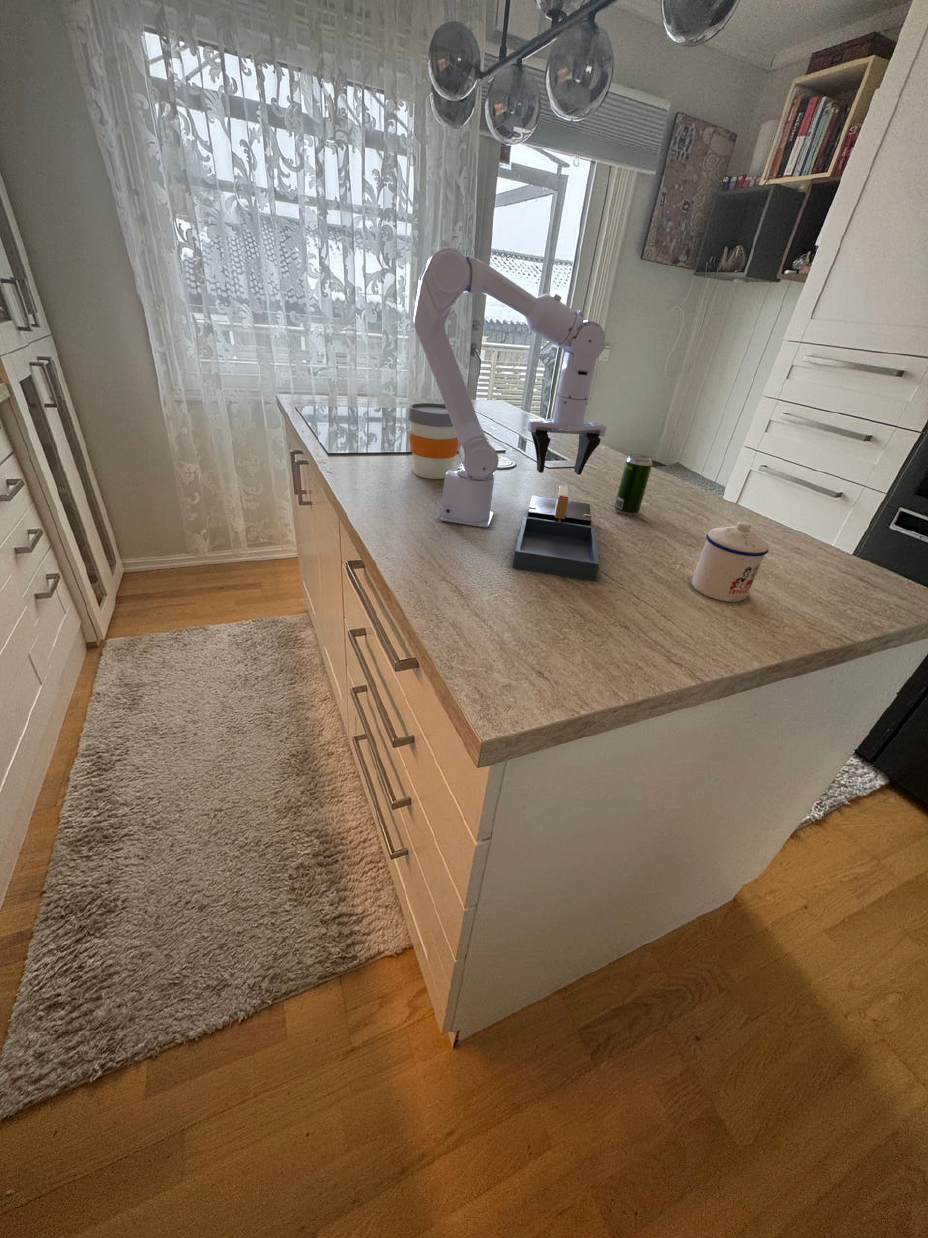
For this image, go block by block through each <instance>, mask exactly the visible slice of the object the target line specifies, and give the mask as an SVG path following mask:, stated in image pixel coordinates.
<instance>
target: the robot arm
mask: <svg viewBox="0 0 928 1238" xmlns="http://www.w3.org/2000/svg"><path fill="white" fill-rule="evenodd" d="M417 285H418V286H417V293H416V299H415V307H414V314H413V320H412V321H413V328H414V330H415V333H416V335H417V337H418V340H419V342H420V345H421V347H422V350H423V353H424V355H425V358H426V361H427V364H428V365H429V368H430V370H431V373H432V376H433V379H434V381H435V382H436V386H437V388H438V391H439V393H440V396H441V398H442V401H443V404H445V406H446V409H447V411H448V414H449V416H450V419H451V421H452V424H453V426H454V429H455V432H456V435H457V438H458V442H459V445H458V450H457V454H458V456H459V459H460V460H461V463H460V464H459V465H458V467H456V470H452V471H447V473H446V476H445V478H444V481H443V486H442V487H443V488H442V500H441V501H442V503H441V515H440V516H441V517H440V521H442V522H448V523H453V524H461V525H468V526H473V527H480V528H485V529H487V528H489V527H490V525H491V522H492V519H493V517H494V511H491V508H492V500H493V491H494V482H495V475H496V473H495V472H496V470H497V468H498V466H499V463H500V462H499V459H500V458H499V455H498V454H499V453H498V452H497V450H496V449H495V448H494V447H493V446H492V445H491V443H490V440H489V439H488V437H487V436H486V434H485V433H484V430H483V428H482V425H481V423H480V421H479V418H478V415H477V412H476V410H475V408H474V404H473V402H472V399H471V396H470V393H469V390H468V389H467V385H466V382H465V379H464V377H463V375H462V371H461V369H460V365H459V363H458V360H457V357H456V354H455V352H454V350H453V347H452V344H451V341H450V338H449V336H448V333H447V331H446V328H445V326H446V323H447V322H448V321H447V320H448V318H449V315H450V313H451V311H452V309H453V305H454V304H455V303H456V302H457V300H459V298H460V297H461V295H462V294H483V295H486V296H487V297H489V298H491V299H493V300H495V301H496V302H499V303H500V304H502V305H504V306H506V307H507V308H509V309H511V310H512V311H514V312H516V313H518V314H520V315H522V316H523V317H524V318H525V320H526V324H527V328H528V330H529V331H531V332H532V333H534V334H536V335H537V336H539V337H541V338H542V339H544V340H546V341H548V342H549V343H551V344H553V345H554V346H556V347H558V348H560V349H561V348H562V350H563V352H564V355H563V361H562V366H561V370H560V376H559V382H558V388H557V394H556V399H555V405H554V411H553V415H552V418H546V419H545V418H538V419H537V418H534V419H533V418H529V419H528V422H527V429H526V430H527V431H528V432H529V433H530V434H531V438H532V441H533V445H534V449H535V456H536V471H537V473H539V474H542V473H544V471H545V466H546V457H547V453H548V449H549V446H550V443H551V440H552V439H551V438H550V437H549V435H550V434H549V433H552V434H568V435H578V447H577V448H578V449H577V454H576V458H575V459H576V460H575V463H574V469H573V470H574V473H575V474H577V475H582V473H583V470H584V468H585V466H586V464H587V462H588V461H589V458H590V457H591V455H593V453H594V451H595V450H596V449H597V448H598V446H600V445H601V438H600V437H602V438H603V437H605V436H606V432H607V427H608V426H607V425H606V424H604V423H598V422H590V421H585V419H586V415H587V411H588V407H589V406H588V405H589V401H590V395H591V391H592V386H593V381H594V375H595V369H596V366H597V365H596V364H597V359H598V358H599V357H600V356H601V355H602V353H603V352H604V350H605V349H606V346H607V341H605V338H606V337H605V336H606V335H605V330H603V327H602V326H601V324H599V323H598V322H596V321H593V320H587V319H586V318H584V316H585V315H586V313H585V312H584V311H582V310H577V311H576V310H574V309H572V307H569V306H568V305H566V304H565V303H563V302H561V301H562V296H560V295H559V294H557V293H552V294H549V293H543V294H541V295H538V296H534V295H533V294H531V293H530V292H529V291H527V290H526V289H524V288H523V287H521V286H520V285H518V284H517V283H516V282H514V281H512V280H511V279H509V278H508V277H507V276H505V275H504V274H502V273H501V272H499V271H498V270H496V269H495V268H494V267H492V266H491V265H489V264H487V263H485V262H483V261H481V260H480V259H477V258H475V257H473V256H471V255H468V254H467V255H464V254H463V253H462V252H461V250H458V249H456V248H453V247H444V248H441V249H439V250H438V251H436V252H434V253H433V254H431V255H430V256H429V257H428V258H427V260H426V262H425V264H424V266H423V268H422V271H421V273H420V275H419V276H418V284H417Z"/></svg>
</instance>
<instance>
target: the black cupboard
mask: <svg viewBox="0 0 928 1238" xmlns="http://www.w3.org/2000/svg"><path fill="white" fill-rule="evenodd" d="M556 501H557V498H552V497H544V496H538V495H537V496H536V495H531V498H530V503H529V506H528V512H527V517H532V518H539V519H546V520H553V521H558V523H560V522H566V523H573V524H580V525H586V526H591V524H592V512H591V504H590V503H585V502H581V501H580V502H579V501H572V500H568V504H567V509H566V514H565V519H559V518H555V510H556Z"/></svg>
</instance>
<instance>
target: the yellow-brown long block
mask: <svg viewBox="0 0 928 1238" xmlns="http://www.w3.org/2000/svg"><path fill="white" fill-rule="evenodd" d="M569 489H570V486H569V485H565V484H559V487H558V491H557V497H556V499H557V501H556V510H555V518H559V519H565V514H566V509H567V504H568V501H569V494H570V491H569Z"/></svg>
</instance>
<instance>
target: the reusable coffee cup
mask: <svg viewBox="0 0 928 1238" xmlns="http://www.w3.org/2000/svg"><path fill="white" fill-rule="evenodd" d="M407 420H408V421H409V430H408V438H409V447H410V452H411V454H412V464H413V473H414V474H415V475H416V476H418V477H420V478H424V479H430V480H443V479H445V476H446V473H447V471H453V466H454V461H455V457H456V456H457V454H458V445H459V442H458V438H457V435H456V432H455V429H454V426H453V424H452V421H451V419H450V416H449V414H448V411H447V409H446V406H445V404H444V403H436V402H435V403H434V402H418V403H417V402H416V403H412V404H410V405H409V408H408V417H407Z"/></svg>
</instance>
